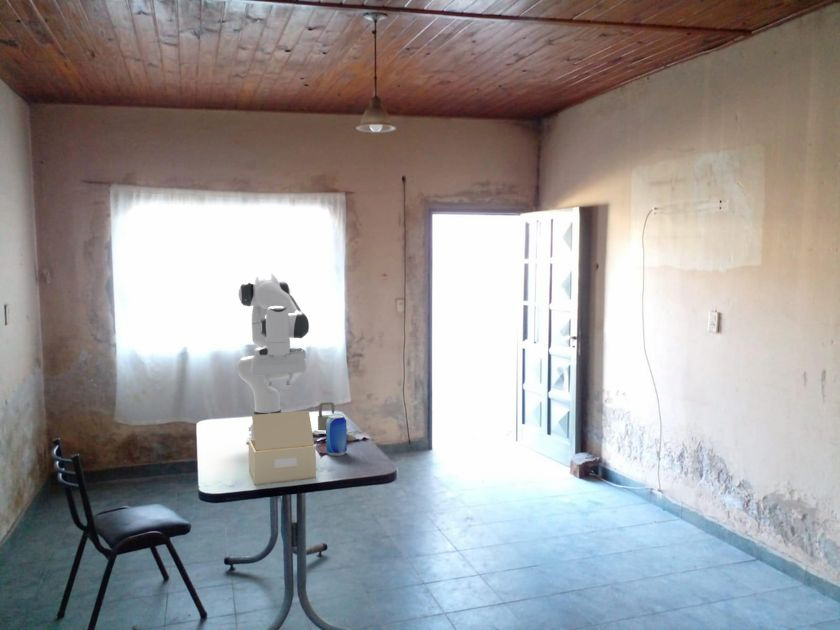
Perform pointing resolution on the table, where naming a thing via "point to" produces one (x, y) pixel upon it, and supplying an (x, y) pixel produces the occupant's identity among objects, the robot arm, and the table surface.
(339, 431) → the beer can
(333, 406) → the padlock
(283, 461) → the carton
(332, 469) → the table surface
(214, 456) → the table surface
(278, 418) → the carton flap
